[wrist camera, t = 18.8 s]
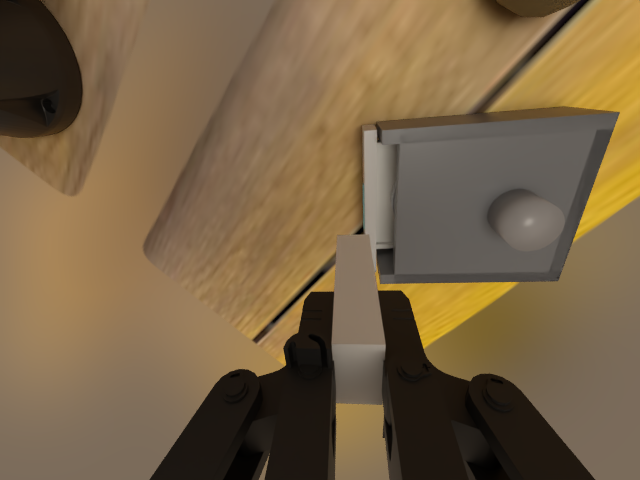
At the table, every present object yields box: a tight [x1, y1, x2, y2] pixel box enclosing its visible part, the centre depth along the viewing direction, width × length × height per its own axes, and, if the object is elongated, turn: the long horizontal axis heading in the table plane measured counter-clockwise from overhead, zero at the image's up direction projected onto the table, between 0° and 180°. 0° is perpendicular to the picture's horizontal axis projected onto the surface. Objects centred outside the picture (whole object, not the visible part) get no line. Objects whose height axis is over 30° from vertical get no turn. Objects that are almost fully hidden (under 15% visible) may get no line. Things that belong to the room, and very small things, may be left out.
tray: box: [362, 124, 397, 272], centre depth 31 cm, size 16×18×4 cm
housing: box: [376, 107, 620, 284], centre depth 28 cm, size 16×18×10 cm
